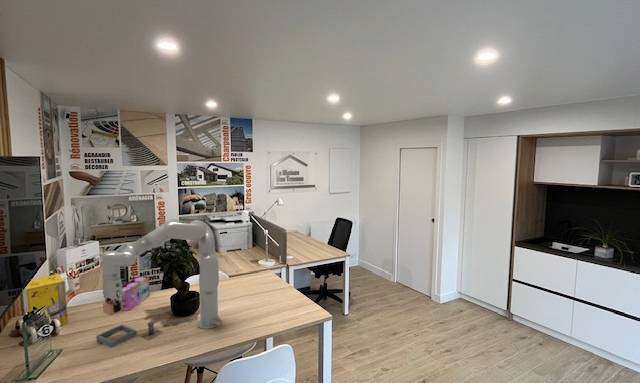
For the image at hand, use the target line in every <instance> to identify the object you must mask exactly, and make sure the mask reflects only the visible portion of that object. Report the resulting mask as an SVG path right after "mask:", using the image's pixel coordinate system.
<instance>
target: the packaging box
mask: <svg viewBox="0 0 640 383" xmlns="http://www.w3.org/2000/svg"><path fill="white" fill-rule="evenodd" d="M30 280H31V281H30V282H29V284H28V285H27V286H26V287H25V289H24V290H23V289H22V299H23V310H24V314H25V313H26V312H31V311H32V310H33V307H36V308H37V309H40V308H42V307H44V306H46V307H45V308H44V309H43V310H46V311H47V312H48V314H49V317H50V319H57V320H59V321H60V323H61V325H62V326H66V325H68V324H69V317H68V304H67V303H68V302H67V289H66V288H67V286H66V281H65V279H64V278H63V277H62V276H61V275H60V274H59V273H57V274H52V275H48V276H43V277H38V278H34V279H30ZM65 324H66V325H65ZM62 326H61V327H62Z"/></svg>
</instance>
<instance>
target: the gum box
mask: <svg viewBox="0 0 640 383" xmlns="http://www.w3.org/2000/svg"><path fill="white" fill-rule="evenodd" d="M122 288H123V297H122V298H123V299H122V301H123V303H124V305H123V311H130V310H132V309H134V308H135V307H136V306H138V305H139V304H140V303H142V302H143V301H144V300H146V299H148V298H149V297H150V296H151V294H150V293H151V292H150V291H151V290H150V276H143V275H141V276H139V275H138V276H136V277H134V278H133V279H131V280H130V281H128V282H126V283H125V284H122ZM116 298H118V297H116Z"/></svg>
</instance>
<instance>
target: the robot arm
mask: <svg viewBox="0 0 640 383" xmlns="http://www.w3.org/2000/svg"><path fill="white" fill-rule="evenodd" d="M170 239H174V240H186V241H187V240H189V241H198V253H199V254H198V265H199V266H198V267H199V275H198V276H199V277H198V284H199V285H198V286H199V310H200V311H199V312H200V314H199V315H200V317H199V318H200V320H199V321H197V327H198V328H200V329H204V330H208V329H214V328H217V327H218V326H221V324H222V322H223V320H222V319H221V317H220V315H219V302H218V301H219V299H218V298H219V295H218V293H219V291H218V287H219V284H220V283H219V282H220V279H219V278H220V271H219V261H218V257H217V255H216V242H215V235H214V232H213V230H212V228H211V226H210V225H208V224H207V223H206V222H205V221H203V220H199V219H195V220H192V221H191V222H189V223H185V222H183V223H182V222H181V221H180V220H178V219H176V218H171V219H169V220H166V221H165V222H164V223H162V224H160V225H159V226H158V227H156V228H155V229H153V230H152V231H150V232H148V233H147V234H145V235H143V236H142V237H140V238H139V239H137V240H134V241H133V243H131V244H129V245H128V246H126V247H125V248H124V249H123V250H122V251H121V252H119V251H117V250H108V251H104V252H103V253H102V254H101V268H102V269H101V270H102V294H103V297H104V301H105V302H107V301H110V300H113V301H114V305H113V306H114V313H116V312H118V311H120V310H121V301H122V299H123V298H122V297H123V288H122V286H123V284H122V278H121V267H130V266H133V264H135V262H136V260H137V258H138V257H139V256H141V255H142V254H144V253H146V252H147V251H149V250H151V249H156V248H159V247H160V246H162V245H163V244H165V243H166V242H167V241H169V240H170ZM117 297H118V298H117ZM116 299H118V300H117V301H116ZM116 314H117V313H116Z"/></svg>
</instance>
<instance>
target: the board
mask: <svg viewBox="0 0 640 383" xmlns="http://www.w3.org/2000/svg"><path fill="white" fill-rule="evenodd" d="M154 324H155V322H154V321H149V322H147V326H148V329H147V331H145V332H142V333H140V334H139V335H138V334H137V336H138V337H140V338H142V339H145V340H147V341H150V340H153V339H155V338H157V337H158V336H161V335H162V334H164V333H165V332H164V331H162V330H159V329H157V328H155V327H154Z"/></svg>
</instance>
